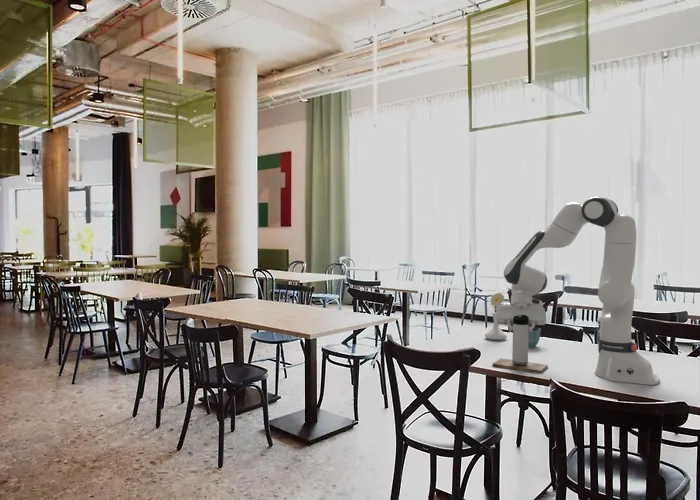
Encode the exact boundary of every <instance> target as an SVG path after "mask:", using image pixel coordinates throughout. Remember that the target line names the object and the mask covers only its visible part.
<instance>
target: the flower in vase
mask: <svg viewBox="0 0 700 500" xmlns="http://www.w3.org/2000/svg"><path fill="white" fill-rule="evenodd" d="M504 301H505V295H504V294H502V293H500V292H495V293H494V294H493V295H492V296H491V297H490V301H489V302H490V305H491V306H492V308H493V309H494V311H497V310H496V307H497V305H499V304H501V303H503V302H504ZM503 304H504V303H503ZM490 314H491V315H492V317H493V318H492V319H493V327H492V328H491V329H489V330H488V331H487V332H485V333H484V337H485V338H486V339H489V340H493V341H494V340H495V341H501V340H505V339H507V337H508V336H507V334H506V333H505V332H504V331H503V330H502V329H501V328H500V327H499V322H497V319H496V316H497V312H491V313H490Z"/></svg>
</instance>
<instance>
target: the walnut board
mask: <svg viewBox="0 0 700 500" xmlns="http://www.w3.org/2000/svg"><path fill="white" fill-rule="evenodd" d="M491 365H492V367H494V368H501V369H508V370H514V371H521V372H528V373H533V372H535V373H534V374H540V373H541V374H543V373H544V372H545V371H546V370H547V369H548V367H549V364H546V363H545V364H544V363H537V362H530V361H528V364H525V365H519V364H514V363H513V362H512V359H507V358H502V357H501V358H499V359H497V360H496V361H495V362H493V363H492V364H491Z"/></svg>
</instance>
